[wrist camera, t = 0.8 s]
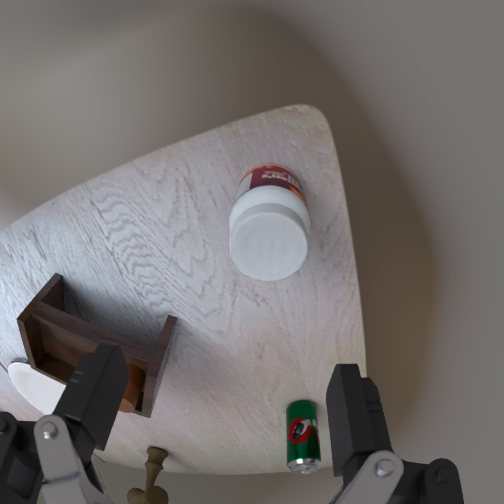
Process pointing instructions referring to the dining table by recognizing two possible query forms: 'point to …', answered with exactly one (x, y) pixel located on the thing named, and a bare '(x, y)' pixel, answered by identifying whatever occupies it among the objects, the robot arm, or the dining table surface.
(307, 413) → the soda can
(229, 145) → the dining table surface
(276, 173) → the pill bottle
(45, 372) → the spice rack
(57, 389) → the plate
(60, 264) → the dining table surface
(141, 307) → the dining table surface
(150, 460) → the kendama
